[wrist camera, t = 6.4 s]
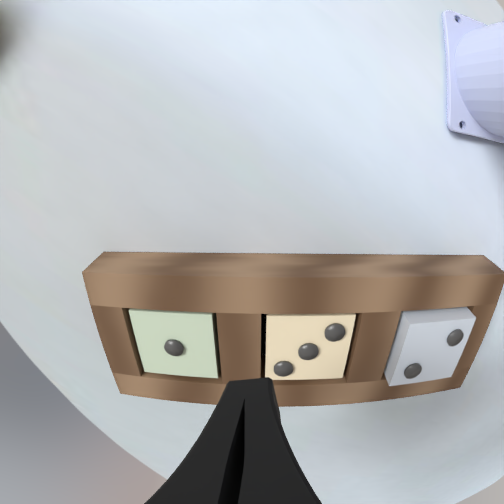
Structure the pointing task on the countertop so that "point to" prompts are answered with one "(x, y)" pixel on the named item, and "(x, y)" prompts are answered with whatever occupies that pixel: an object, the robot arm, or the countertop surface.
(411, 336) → the button two
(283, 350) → the button three
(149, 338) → the button one
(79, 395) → the countertop surface
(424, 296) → the frame
